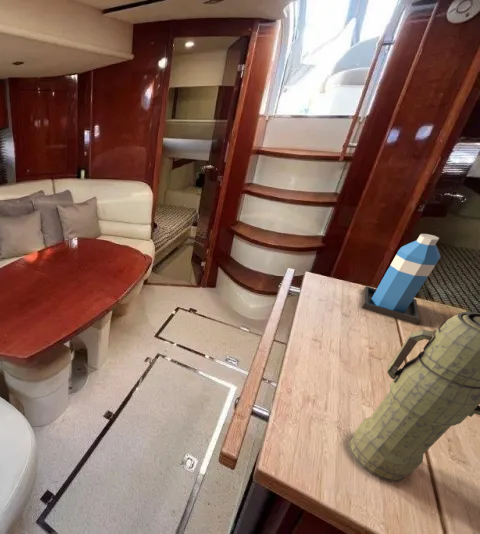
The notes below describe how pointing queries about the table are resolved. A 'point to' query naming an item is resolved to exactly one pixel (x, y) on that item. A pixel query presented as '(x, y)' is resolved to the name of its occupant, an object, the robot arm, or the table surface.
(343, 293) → the table surface
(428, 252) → the water bottle
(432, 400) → the thermos
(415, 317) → the dark grey square tray
